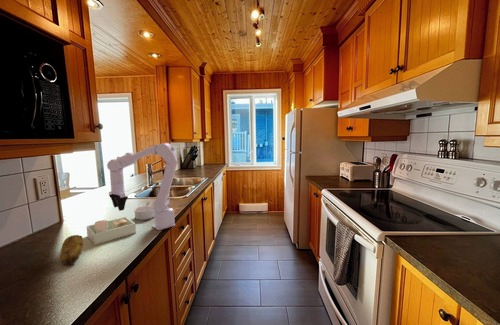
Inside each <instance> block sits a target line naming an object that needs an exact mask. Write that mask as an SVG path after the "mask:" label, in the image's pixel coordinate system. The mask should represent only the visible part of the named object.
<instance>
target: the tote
mask: <svg viewBox="0 0 500 325" xmlns="http://www.w3.org/2000/svg"><path fill="white" fill-rule="evenodd" d="M122 219H124V220H126V221H127V224H128V225H126V226H122V227H118V228H114V229H113V222H114V221H118V220H122ZM107 223H108V230H107V231H103V232H99V233H95V223H94V224H90V225H86V235H87V236H86V237H88V239H89V240H90V242H91V243H92V244H93V246H97V245H101V244H105V243H108V242H111V241H114V240H113V239H115V240H117V238H118V239H121V238H124V236H125V237H127V236H131V235H134V234H136V232H137V231H136V223H135V222H134V221H133V220H131V219H130V218H128V217H127V216H125V217H119V218H115V219H112V220H107ZM120 237H121V238H120ZM110 240H111V241H110ZM107 241H108V242H107Z"/></svg>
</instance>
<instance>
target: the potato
mask: <svg viewBox="0 0 500 325" xmlns="http://www.w3.org/2000/svg"><path fill="white" fill-rule="evenodd" d="M83 247H84V238H83V236H82V235H79V234H74V235H71V236H68V237H66V238H65V240H64V241H63V243H62V245H61V249H60V253H59V260H60V261H59V262H61V264H62V265H67V266H69V265H73V264H75V263H76V262H77V261H78V259H80V257H79V256H80V255H81V254H82V251H83Z"/></svg>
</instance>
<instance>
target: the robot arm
mask: <svg viewBox="0 0 500 325" xmlns="http://www.w3.org/2000/svg"><path fill="white" fill-rule="evenodd" d="M175 151H176V150H175V148H174V147H173V146H172V144H171V143H169V142H164V143H159V144H154V145H151V146H148V147H146V148H145V149H142V150H139V151H138V152H135V153H134V152H129V151H127V152H125V154H124V155H122V156H117V157H116V158H115V159H114V158H113V159H110V160H108V162H107V164H106V167H107V169H108V170H109V176H110V178H109V179H110V191H109V192H108V196H109V197H110V199H111V202H112V205H113V208H117V209H118V211H119V212H120V211H124V210H125V208H126V202H127V200H128V198H129V197H128V195H126V193H125V192H126V190H125V182H124V180H125V179H124V168H127V167H129V166H132V165H133V164H137V163H138V160H139V159H142V158H144V157H148V156H149V155H158V156H159V157H160V158H162V159H163V161H164V162H165V163H166V164H165V168H164V171H163V172H164V173H163V175H162V180H161V184H160V188H159V191H158V194H157V196H156V199H155V201H154V202H153V203H152V206H153V209H154V214H155V216H154V224H152V225H151V227H152V228H154V229H156V230H157V231H161V230H164V229H168V228H171V227H175V226H176V223H175V222H176V220H175V217H176V216H175V211H174V209H173V208H172V207H169V204H170V202H171V201H170V195H171V194H170V191H171V187H172V183H173V179H174V176H175V172H176V169H177V164H178V158H177V154H176V152H175Z"/></svg>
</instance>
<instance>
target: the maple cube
mask: <svg viewBox="0 0 500 325" xmlns="http://www.w3.org/2000/svg"><path fill="white" fill-rule="evenodd" d="M126 225H128V224H127V221H126V220H124V219H122V220H118V221H114V222H113V229H114V228H118V227H122V226H126Z"/></svg>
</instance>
